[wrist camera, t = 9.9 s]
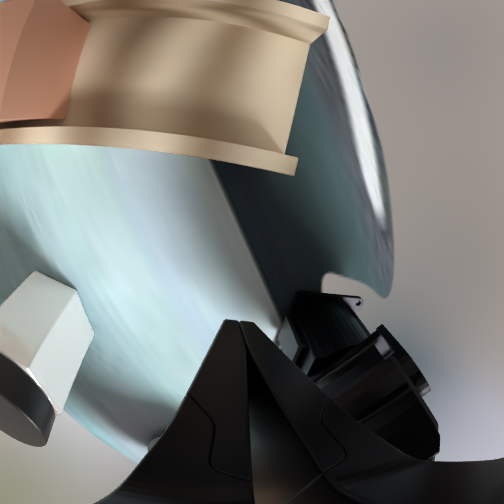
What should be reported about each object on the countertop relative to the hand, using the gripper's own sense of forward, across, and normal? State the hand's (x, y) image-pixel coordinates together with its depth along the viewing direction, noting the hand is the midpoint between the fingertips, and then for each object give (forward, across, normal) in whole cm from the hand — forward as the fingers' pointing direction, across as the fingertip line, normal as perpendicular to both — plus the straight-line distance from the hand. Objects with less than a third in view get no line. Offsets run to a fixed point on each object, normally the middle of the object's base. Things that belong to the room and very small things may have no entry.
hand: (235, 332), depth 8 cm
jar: (+12, +14, +11) cm, 22 cm away
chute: (+12, +8, -9) cm, 17 cm away
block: (+11, +15, -9) cm, 21 cm away
